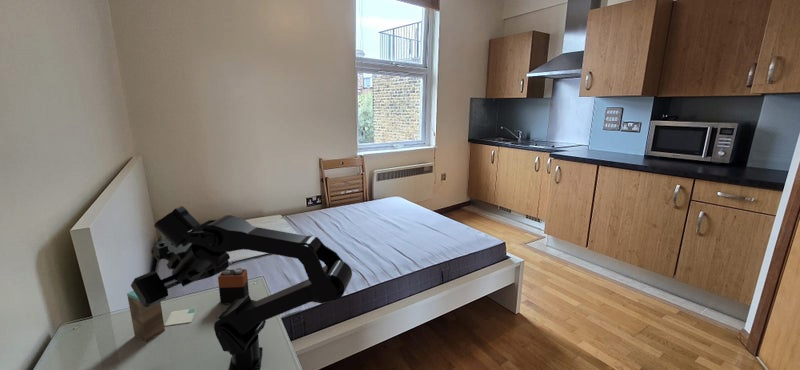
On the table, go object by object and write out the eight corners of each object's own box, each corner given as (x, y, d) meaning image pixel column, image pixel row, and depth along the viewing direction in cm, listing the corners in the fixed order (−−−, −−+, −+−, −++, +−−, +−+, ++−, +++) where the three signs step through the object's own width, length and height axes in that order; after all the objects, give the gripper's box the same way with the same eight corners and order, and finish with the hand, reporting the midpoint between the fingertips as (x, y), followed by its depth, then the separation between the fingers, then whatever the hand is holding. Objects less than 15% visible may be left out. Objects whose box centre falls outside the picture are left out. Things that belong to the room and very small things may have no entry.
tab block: (164, 330, 83) (158, 288, 80) (146, 341, 79) (138, 298, 76) (153, 325, 85) (146, 284, 82) (134, 336, 81) (127, 293, 78)
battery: (245, 304, 95) (242, 273, 93) (220, 305, 94) (216, 274, 92) (249, 295, 100) (247, 265, 97) (225, 296, 99) (222, 266, 96)
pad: (190, 322, 87) (190, 321, 87) (164, 326, 85) (164, 325, 85) (196, 308, 92) (196, 307, 92) (172, 312, 90) (171, 311, 90)
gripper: (217, 215, 79) (192, 246, 87) (129, 243, 63) (107, 278, 70) (242, 253, 78) (215, 281, 85) (158, 291, 62) (133, 322, 69)
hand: (171, 288), depth 77 cm, fingers open, 9 cm apart
